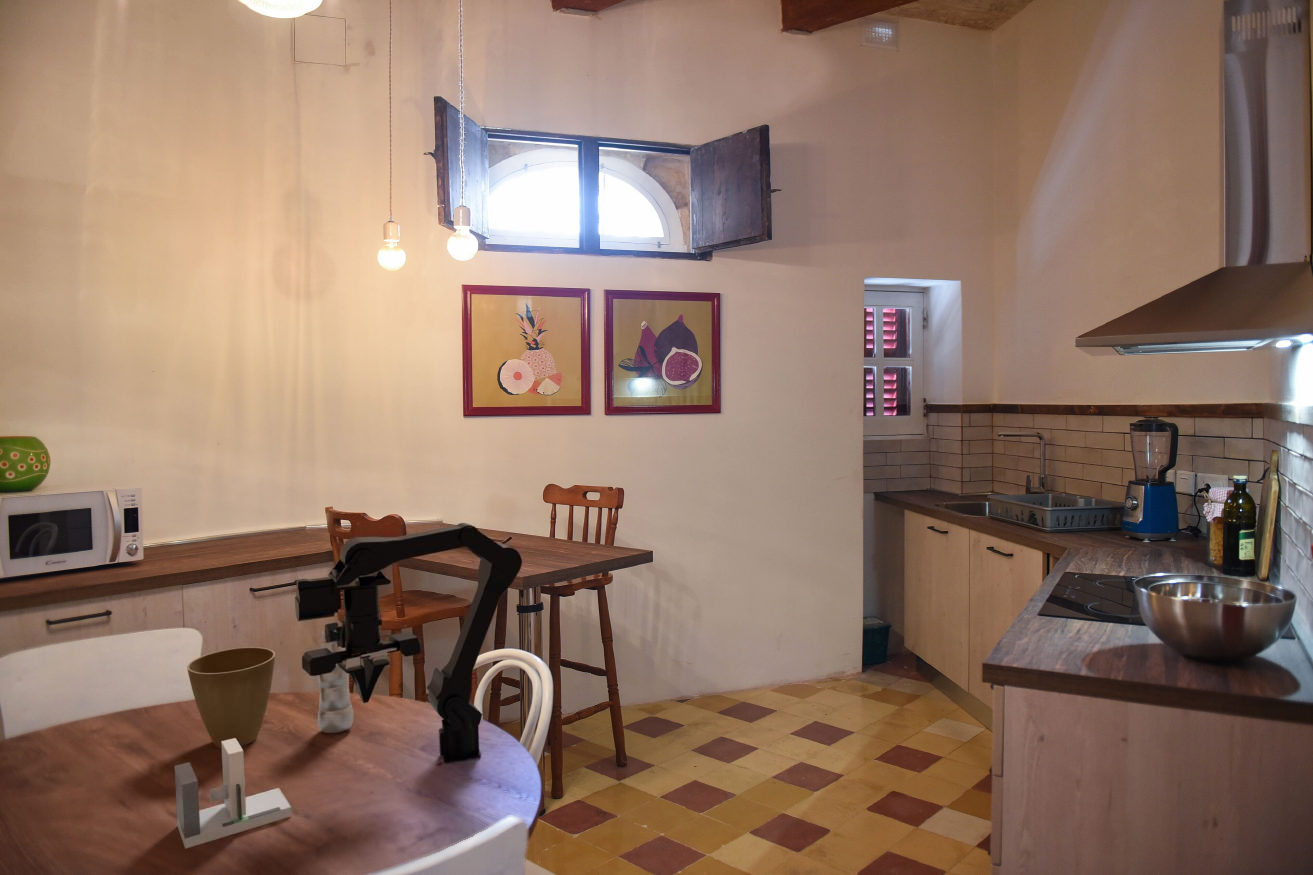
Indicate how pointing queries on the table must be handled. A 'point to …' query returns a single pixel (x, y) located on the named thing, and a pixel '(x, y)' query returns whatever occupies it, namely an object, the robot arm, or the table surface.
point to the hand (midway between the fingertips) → (365, 701)
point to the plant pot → (232, 691)
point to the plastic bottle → (334, 696)
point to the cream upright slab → (232, 780)
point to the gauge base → (220, 823)
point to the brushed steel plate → (187, 800)
